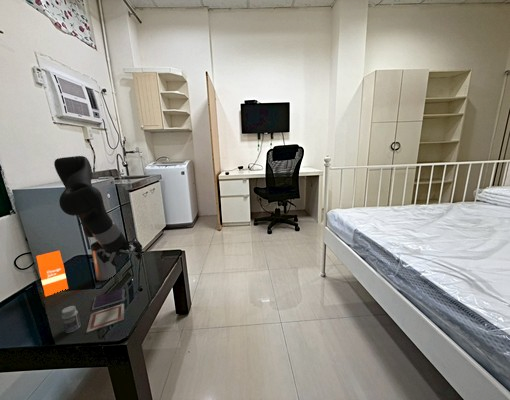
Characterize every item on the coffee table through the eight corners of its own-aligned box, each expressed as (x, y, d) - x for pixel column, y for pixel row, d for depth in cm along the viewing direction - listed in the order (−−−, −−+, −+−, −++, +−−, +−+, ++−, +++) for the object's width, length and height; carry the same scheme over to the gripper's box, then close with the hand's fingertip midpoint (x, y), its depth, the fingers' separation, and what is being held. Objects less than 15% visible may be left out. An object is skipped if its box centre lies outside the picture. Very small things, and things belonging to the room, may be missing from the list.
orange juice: (44, 291, 110) (35, 254, 107) (66, 283, 117) (59, 248, 113) (45, 297, 105) (36, 258, 102) (68, 288, 111) (60, 252, 108)
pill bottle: (71, 324, 85) (66, 305, 84) (83, 323, 86) (79, 304, 84) (61, 333, 81) (56, 313, 79) (74, 332, 81) (70, 312, 80)
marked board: (86, 333, 80) (86, 331, 80) (91, 314, 91) (90, 313, 91) (123, 320, 86) (123, 319, 86) (124, 304, 97) (124, 303, 96)
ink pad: (92, 310, 93) (91, 307, 93) (95, 298, 102) (94, 295, 102) (124, 300, 99) (123, 297, 99) (124, 290, 108) (124, 287, 107)
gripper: (130, 222, 82) (147, 249, 93) (89, 233, 79) (111, 259, 90) (128, 236, 77) (146, 263, 87) (84, 249, 74) (108, 275, 84)
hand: (128, 261), depth 88 cm, fingers open, 8 cm apart
